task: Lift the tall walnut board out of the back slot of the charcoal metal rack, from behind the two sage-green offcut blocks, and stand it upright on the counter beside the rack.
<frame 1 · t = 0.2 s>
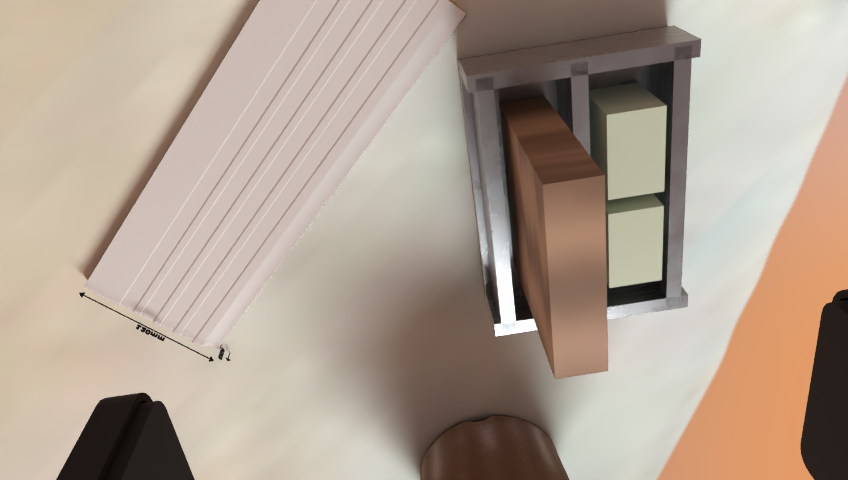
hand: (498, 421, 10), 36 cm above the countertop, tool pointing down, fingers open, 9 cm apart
offcut 2: (611, 127, 45), point 1 cm above the countertop, touching rack
baseboard: (273, 159, 47), on the countertop
rack: (568, 172, 48), on the countertop
plant pot: (490, 463, 61), on the countertop
offcut 1: (612, 214, 49), point 1 cm above the countertop, touching rack
walnut board: (528, 185, 47), point 1 cm above the countertop, touching rack
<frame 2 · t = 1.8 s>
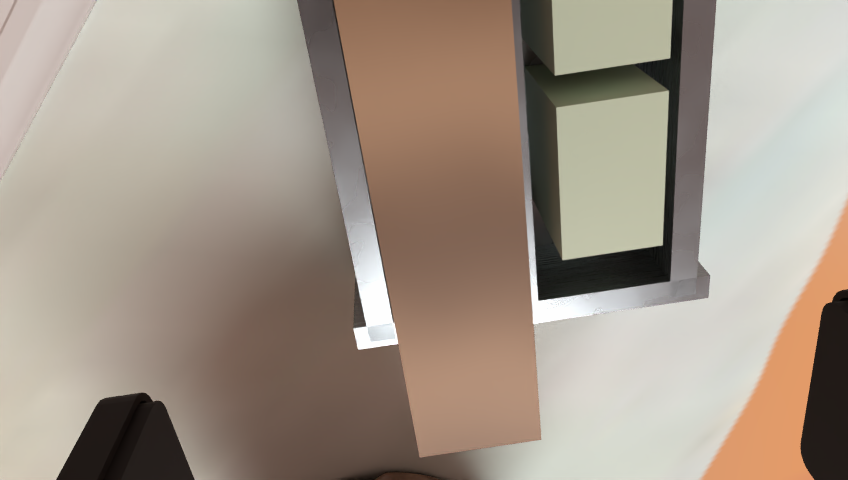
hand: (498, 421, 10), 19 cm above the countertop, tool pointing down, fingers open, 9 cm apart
rack: (492, 50, 26), on the countertop
offcut 1: (573, 129, 27), point 1 cm above the countertop, touching rack
walnut board: (416, 69, 25), point 1 cm above the countertop, touching rack
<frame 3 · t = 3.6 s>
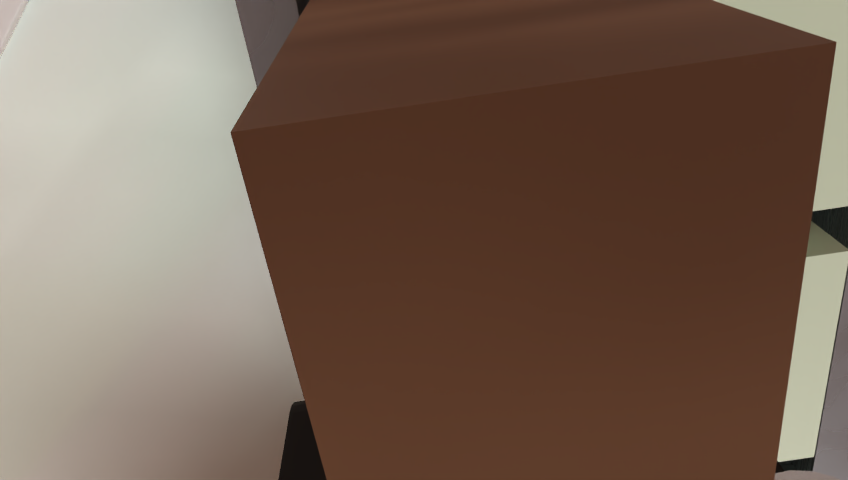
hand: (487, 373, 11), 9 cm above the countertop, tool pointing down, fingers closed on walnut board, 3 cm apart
offcut 2: (670, 22, 16), point 1 cm above the countertop, touching rack
rack: (551, 154, 19), on the countertop
offcut 1: (662, 261, 19), point 1 cm above the countertop, touching rack
walnut board: (444, 185, 18), point 1 cm above the countertop, touching gripper, rack
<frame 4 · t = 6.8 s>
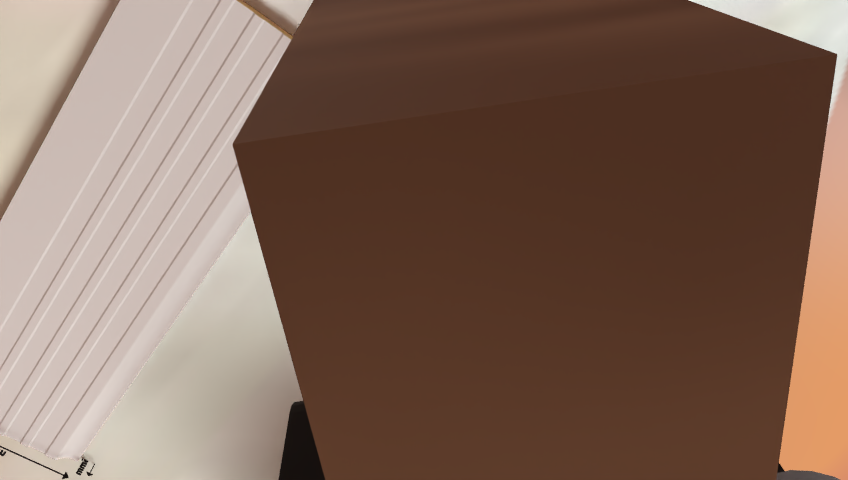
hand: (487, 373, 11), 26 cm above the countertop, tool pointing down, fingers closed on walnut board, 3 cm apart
baseboard: (129, 243, 39), on the countertop
walnut board: (445, 187, 18), point 19 cm above the countertop, touching gripper
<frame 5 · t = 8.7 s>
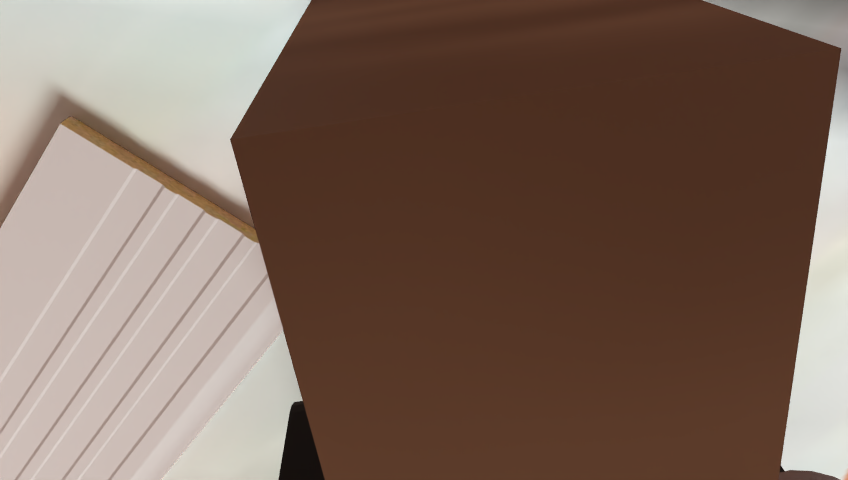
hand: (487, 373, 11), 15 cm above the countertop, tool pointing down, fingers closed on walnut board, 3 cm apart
baseboard: (50, 453, 31), on the countertop
walnut board: (445, 186, 18), point 7 cm above the countertop, touching gripper
when the fingers open (9 cm above the countertop, at t = 10.1 s): walnut board drops 2 cm, on the countertop.
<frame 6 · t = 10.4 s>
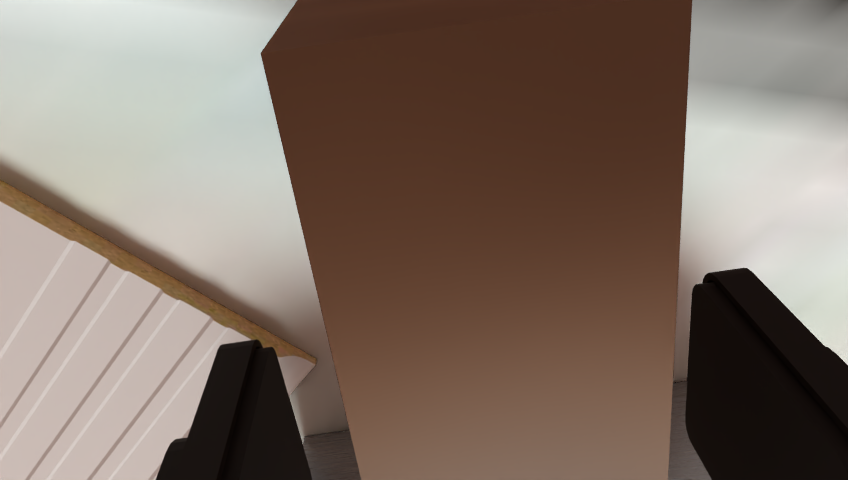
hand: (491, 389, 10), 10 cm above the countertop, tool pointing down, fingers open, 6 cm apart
walnut board: (435, 162, 19), on the countertop
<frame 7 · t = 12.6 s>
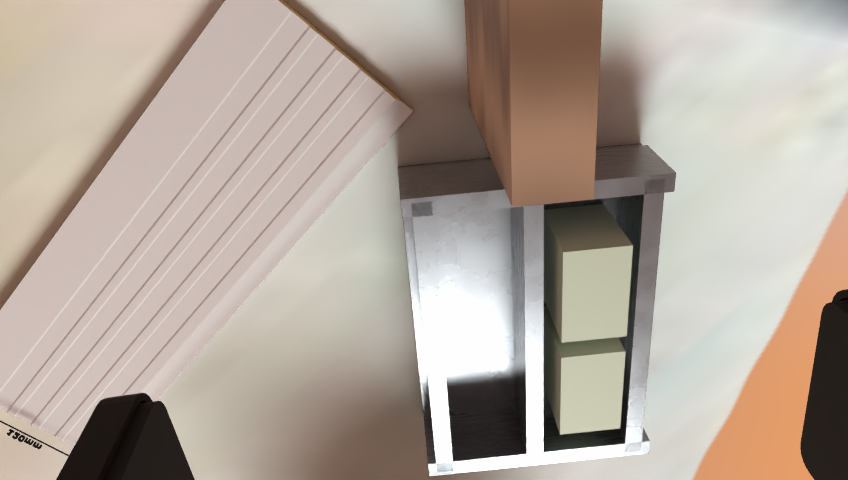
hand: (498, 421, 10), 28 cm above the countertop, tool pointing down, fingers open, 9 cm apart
offcut 2: (571, 250, 40), point 1 cm above the countertop, touching rack
baseboard: (181, 252, 40), on the countertop
rack: (521, 293, 42), on the countertop
offcut 1: (569, 341, 43), point 1 cm above the countertop, touching rack
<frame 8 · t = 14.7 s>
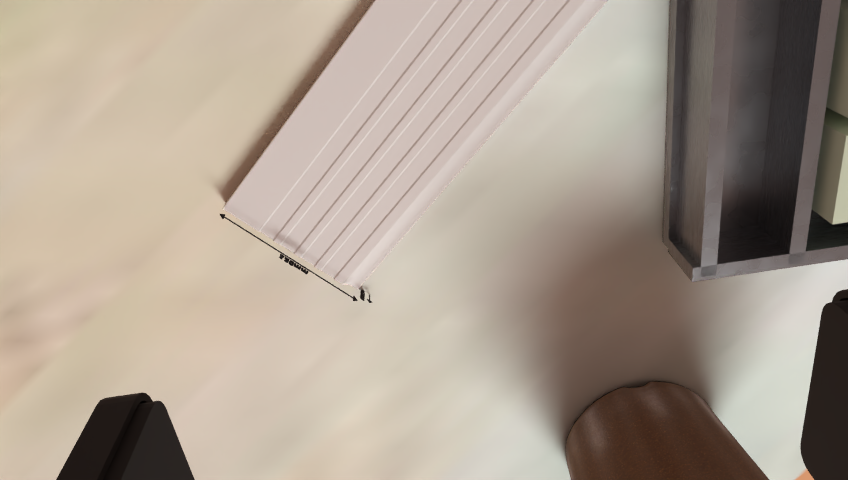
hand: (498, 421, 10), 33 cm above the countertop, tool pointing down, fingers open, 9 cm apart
offcut 2: (833, 44, 41), point 1 cm above the countertop, touching rack
baseboard: (449, 68, 42), on the countertop
rack: (773, 99, 43), on the countertop
plant pot: (640, 437, 56), on the countertop
offcut 1: (819, 147, 44), point 1 cm above the countertop, touching rack
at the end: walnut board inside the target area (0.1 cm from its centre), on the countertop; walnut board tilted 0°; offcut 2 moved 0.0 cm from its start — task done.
